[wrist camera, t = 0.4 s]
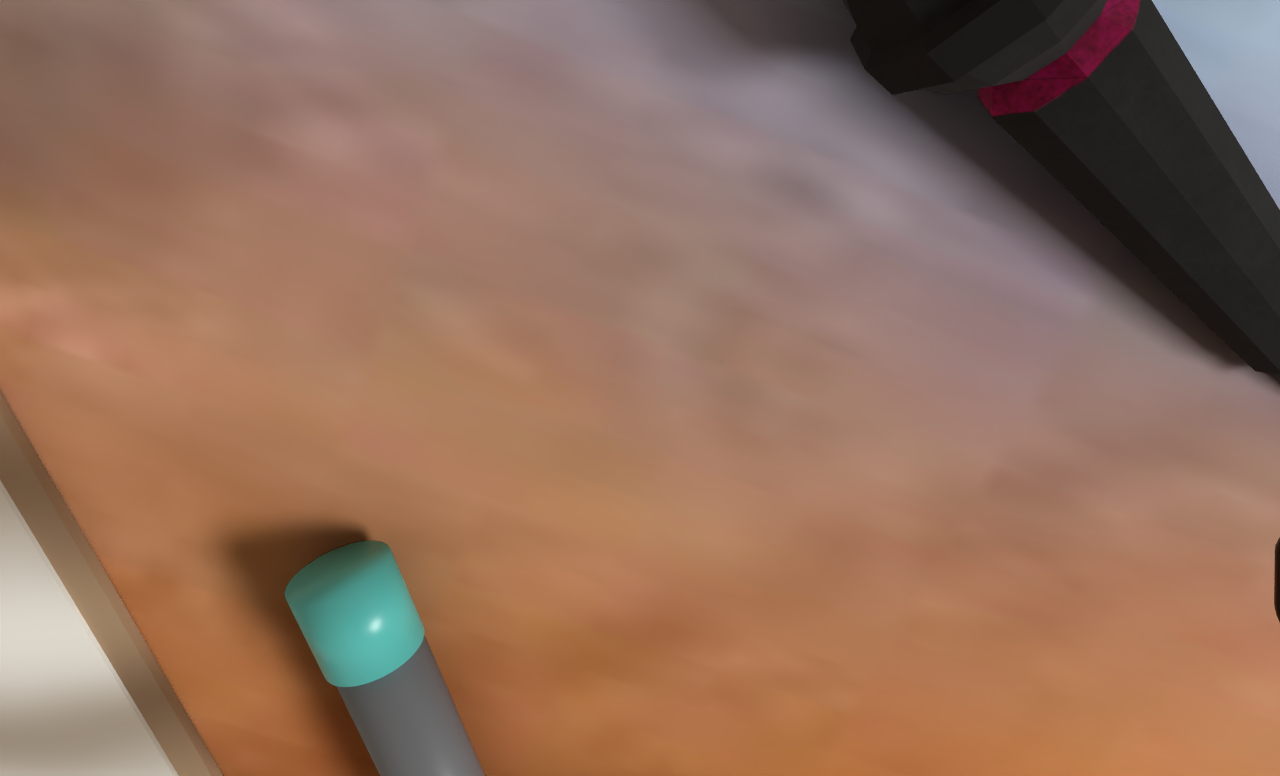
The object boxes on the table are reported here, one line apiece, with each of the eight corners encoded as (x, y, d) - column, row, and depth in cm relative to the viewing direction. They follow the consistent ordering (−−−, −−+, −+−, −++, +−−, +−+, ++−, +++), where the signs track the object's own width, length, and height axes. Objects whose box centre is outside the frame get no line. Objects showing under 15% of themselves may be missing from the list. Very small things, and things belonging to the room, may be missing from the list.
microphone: (1295, 322, 26) (869, -210, 18) (1547, 347, 21) (1107, -384, 13) (1203, 475, 26) (726, 2, 18) (1436, 539, 21) (912, -89, 13)
